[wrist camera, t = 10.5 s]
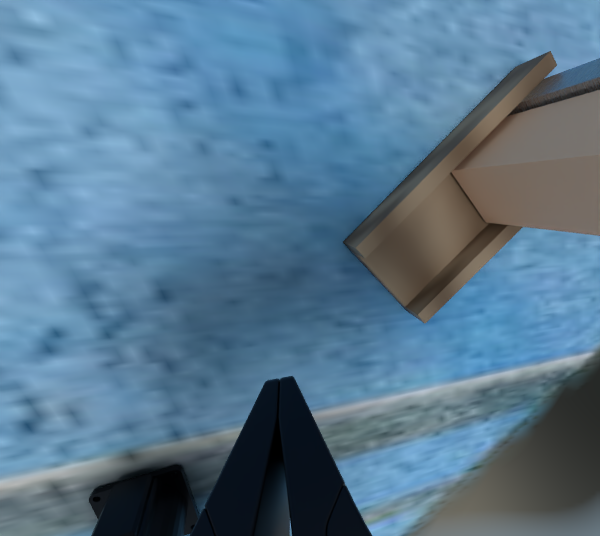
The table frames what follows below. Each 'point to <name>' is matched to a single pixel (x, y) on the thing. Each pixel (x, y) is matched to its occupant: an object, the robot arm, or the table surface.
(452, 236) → the rail
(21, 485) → the table surface
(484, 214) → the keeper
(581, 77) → the grey square block
